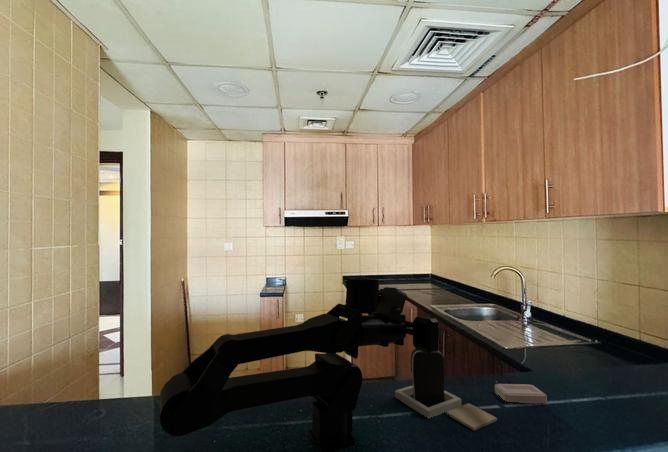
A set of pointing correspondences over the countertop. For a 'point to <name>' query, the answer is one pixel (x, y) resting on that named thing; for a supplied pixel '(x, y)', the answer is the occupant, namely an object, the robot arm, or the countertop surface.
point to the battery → (427, 377)
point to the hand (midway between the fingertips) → (426, 327)
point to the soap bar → (520, 393)
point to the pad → (471, 416)
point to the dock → (428, 412)
